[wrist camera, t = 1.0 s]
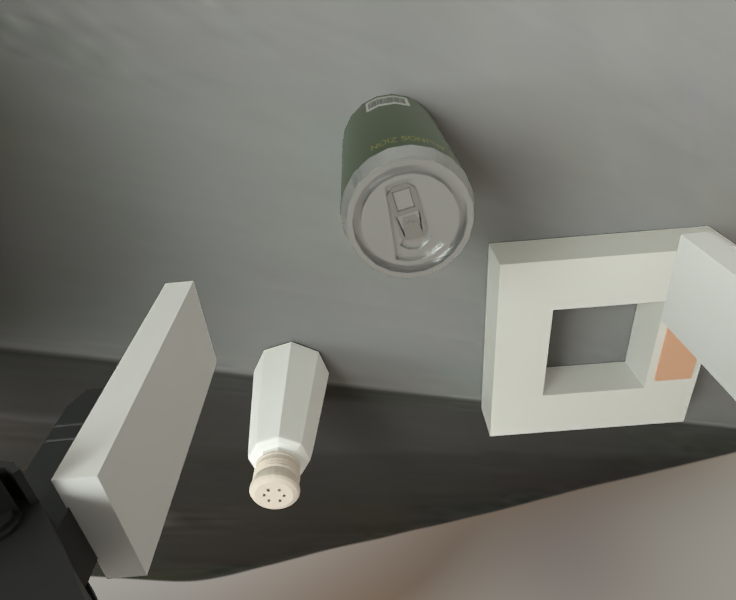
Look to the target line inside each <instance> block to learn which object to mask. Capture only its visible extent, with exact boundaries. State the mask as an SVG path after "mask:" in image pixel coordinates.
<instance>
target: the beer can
mask: <svg viewBox="0 0 736 600" xmlns="http://www.w3.org/2000/svg"><path fill="white" fill-rule="evenodd" d="M474 212H475V211H474V193H473V190H472V187H471V185H470V182H469V180H468V178H467V175H466V173H465V171H464V170H463V168H462V166H461V165H460V163H459V161H458V160H457V158H456V156H455V155H454V153H453V151H452V150H451V148H450V146H449V145H448V143H447V142H446V140H445V138H444V137H443V135H442V133H441V132H440V130H439V128H438V127H437V125H436V123H435V122H434V120H433V118H432V117H431V115H430V114H429V113H428V112H427V111H426V110H425V109H424V107H423V106H422V105H421V104H419V103H418V102H416V101H414V100H412V99H410V98H408V97H405V96H399V95H393V94H390V95H384V96H378V97H375V98H373V99H371V100H369V101H368V102H366V103H364V104H362V105H361V106H360V107H359V108H358V109H357V110H356V111H355V113H354V114H353V115H352V116H351V118H350V120H349V122H348V124H347V126H346V128H345V132H344V139H343V150H342V179H341V208H340V214H341V219H342V224H343V229H344V233H345V235H346V236H347V238H348V240H349V241H350V243H351V245H352V247H353V248H354V249H355V251H356V253H357V255H358V256H359V257H360V258H361V259H362V260H363V261H364V262H365V263H367V264H368V265H369V266H370V267H371V268H372V269H375V270H377V271H379V272H381V273H384V274H386V275H388V276H394V277H401V278H413V277H419V276H426V275H428V274H431V273H433V272H435V271H437V270H440V269H442V268H444V267H445V266H446V265H447V264H449V263H450V262H451V261H452V260H453V259H455V258H456V257H457V256H458V255H459V254H460V252H461V251H462V249H463V247H464V246H465V244H466V243H467V241H468V240H469V237H470V233H471V230H472V226H473V223H474V216H473V215H474Z"/></svg>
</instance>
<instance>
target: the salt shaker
mask: <svg viewBox="0 0 736 600" xmlns="http://www.w3.org/2000/svg"><path fill="white" fill-rule="evenodd" d="M328 376H329V372H328V370H327V368H326V366H325V364H324V362H323V360H322V358H321V356H320V354H319V352H318V351H315V350H312V349H310V348H307V347H304V346H302V345H299V344H296V343H293V342H289V343H286V344H283V345H280V346H276V347H273V348H270V349H266V350H264V351H263V354H262V356H261V358H260V360H259V362H258V364H257V366H256V368H255V370H254V378H253V391H252V405H251V418H250V432H249V445H248V459H249V461H250V462H251V464H252V465H253V467H254V468H255V469H254V474H253V480H252V482H251V484H250V489H249V493H250V496H251V497H252V499H253V500H254V501H255V502H256V503H257V504H258V505H260V506H262V507H265V508H268V509H282V508H286V507H288V506H290V505H292V504H293V503H294V502H296V501H297V499H298V498H299V495H300V486H299V483H300V475H301V474H302V473H303V471H304V469H305V468H306V466H307V464H308V463H309V461H310V459H311V455H312V452H313V447H314V443H315V438H316V433H317V428H318V424H319V419H320V414H321V409H322V405H323V400H324V395H325V391H326V386H327V381H328Z"/></svg>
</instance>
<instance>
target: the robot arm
mask: <svg viewBox="0 0 736 600" xmlns="http://www.w3.org/2000/svg"><path fill="white" fill-rule="evenodd" d="M661 321H662V322H663V323H664V324H665V325H666V326H667V327H668V328H669V330H670V331H671V332H672V333H673V334H674V335H675V336H676V337H677V338H678V339H679V340H680V341H681V342H682V344H683V345H684V346H685V347H686V348H687V349H688V350H689V351H690V352H691V353H692V354H693V355H694V356H695V358H696V359H697V360H698V361H699V362H700V363H701V364H702V365H703V366H704V367H705V368H706V369H707V370H708V372H709V373H710V374H711V375H712V376H713V377H714V378H715V379H716V380H717V381H718V382H719V383H720V384H721V386H722V387H723V388H724V389H725V390H726V391H727V392H728V393H729V394H730V395H731V396H732V397H733V398H734V400H735V401H736V249H734V248H733V247H731V246H730V245H728V244H727V243H726V242H724V241H723V240H721V239H720V238H718V237H717V236H715V235H714V234H713V233H711V232H700V233H690V234H681V237H680V241H679V245H678V250H677V254H676V258H675V263H674V267H673V271H672V275H671V280H670V284H669V288H668V293H667V297H666V301H665V305H664V310H663V314H662V318H661ZM216 364H217V360H216V356H215V353H214V349H213V346H212V342H211V339H210V335H209V332H208V329H207V325H206V322H205V318H204V315H203V311H202V308H201V304H200V301H199V298H198V294H197V291H196V287H195V284H194V281H186V282H175V283H165V285H164V287H163V288H162V290H161V292H160V294H159V295H158V297H157V299H156V301H155V302H154V304H153V306H152V307H151V309H150V311H149V313H148V314H147V316H146V318H145V319H144V321H143V323H142V325H141V326H140V328H139V330H138V331H137V333H136V335H135V337H134V338H133V340H132V342H131V343H130V345H129V347H128V349H127V350H126V352H125V354H124V355H123V357H122V359H121V361H120V362H119V364H118V366H117V368H116V369H115V371H114V373H113V374H112V376H111V378H110V380H109V381H108V383H107V385H106V386H105V388H103V389H92V390H86V391H85V392H83V393H82V394H81V395H80V396H79V397H78V398H77V399H75V400H74V401H73V402H72V403H71V404H70V405H68V406H67V408H66V409H65V411H64V412H63V414H62V415H61V417H60V418H59V420H58V421H57V423H56V428H53V429H52V431H51V432H50V434H49V435H48V437H47V439H46V443H43V445H42V446H41V448H40V449H39V451H38V453H37V454H36V456H35V457H34V459H33V460H32V462H31V463H30V465H29V466H28V468H27V470H26V471H25V473H24V474H23V473H22V472H21V470H20V469H19V468H18V467H17V466H16V465H15V464H14V463H11V462H5V461H0V600H98V599H97V597H96V595H95V593H94V591H93V589H92V587H91V586H90V584H89V582H88V580H89V578H90V576H91V573H92V571H93V568H94V566H95V564H96V561H97V562H98V564H99V565H100V567H101V569H102V571H103V572H104V574H105V576H106V578H107V579H111V578H122V577H134V576H145V575H147V574H148V571H149V568H150V565H151V562H152V559H153V556H154V553H155V550H156V547H157V544H158V540H159V537H160V534H161V531H162V528H163V525H164V522H165V519H166V516H167V513H168V510H169V507H170V504H171V501H172V498H173V495H174V492H175V489H176V486H177V483H178V480H179V477H180V474H181V470H182V467H183V464H184V461H185V458H186V455H187V452H188V449H189V446H190V443H191V440H192V437H193V434H194V431H195V428H196V425H197V422H198V419H199V416H200V413H201V410H202V407H203V403H204V400H205V397H206V394H207V391H208V388H209V385H210V382H211V379H212V376H213V373H214V370H215V367H216Z"/></svg>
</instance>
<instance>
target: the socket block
mask: <svg viewBox="0 0 736 600" xmlns="http://www.w3.org/2000/svg"><path fill="white" fill-rule="evenodd" d="M700 232H711V233H713V234H714V235H715V236H717V237H718V238H720V239H721V240H723V241H724V242H726V243H727V244H728V245H730V246H731V247H733V248H734V249H736V245H735V244H734V243H732V242H731V241H730V240H728V239H727V238H725V237H724V236H722V235H721V234H719V233H718V232H716V231H715V230H714V229H712V228H711V227H709V226H700V227H688V228H675V229H663V230H650V231H638V232H626V233H613V234H601V235H588V236H576V237H564V238H551V239H539V240H526V241H514V242H502V243H489V251H488V273H487V295H486V317H485V339H484V361H483V383H482V404H481V408H482V412H483V415H484V418H485V421H486V425H487V428H488V431H489V434H490V436H500V435H513V434H526V433H539V432H552V431H565V430H578V429H591V428H604V427H617V426H630V425H643V424H656V423H669V422H682V421H684V418H685V415H686V412H687V408H688V405H689V402H690V399H691V395H692V392H693V389H694V386H695V382H696V379H697V376H698V373H699V369H700V366H701V363H700V362H699V361H698V360H697V359H696V358H695V356H694V355H693V354H692V353H691V352H690V351H689V350H688V349H687V348H686V347H685V346H684V345H683V344H682V342H681V341H680V340H679V339H678V338H677V337H676V336H675V335H674V334H673V333H672V332H671V331H670V330H669V328H668V327H667V326H666V325H665V324H664V323H663V322H662V321H661V318H662V314H663V310H664V305H665V301H666V297H667V293H668V288H669V284H670V280H671V275H672V271H673V267H674V263H675V258H676V254H677V250H678V245H679V241H680V237H681V234H690V233H700ZM625 304H637V308H636V313H635V317H634V322H633V326H632V331H631V336H630V340H629V345H628V350H627V354H626V359H625V361H623V362H610V363H597V364H584V365H572V366H559V367H546V365H547V357H548V349H549V341H550V332H551V324H552V316H553V310H561V309H574V308H587V307H599V306H612V305H625Z"/></svg>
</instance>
